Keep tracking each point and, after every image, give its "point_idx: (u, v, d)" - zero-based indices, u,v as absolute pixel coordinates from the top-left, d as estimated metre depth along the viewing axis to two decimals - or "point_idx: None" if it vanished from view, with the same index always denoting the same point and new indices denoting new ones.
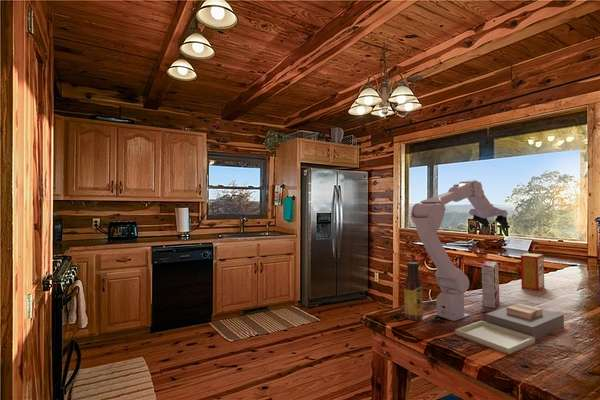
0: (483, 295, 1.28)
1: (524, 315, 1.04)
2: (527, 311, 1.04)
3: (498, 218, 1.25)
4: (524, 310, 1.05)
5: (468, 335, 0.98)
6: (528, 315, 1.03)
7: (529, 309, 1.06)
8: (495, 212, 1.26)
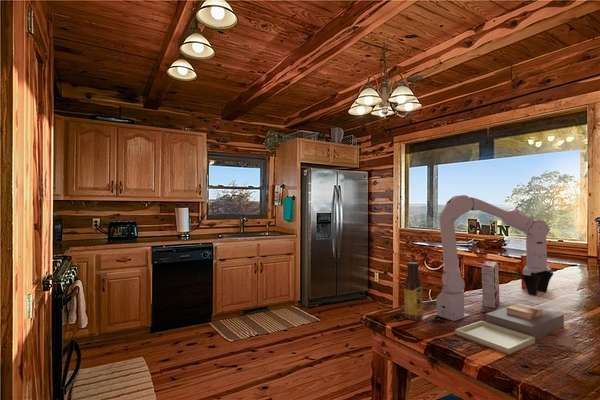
0: (483, 295, 1.28)
1: (524, 315, 1.04)
2: (527, 311, 1.04)
3: None
4: (524, 310, 1.05)
5: (468, 335, 0.98)
6: (528, 315, 1.03)
7: (529, 309, 1.06)
8: None
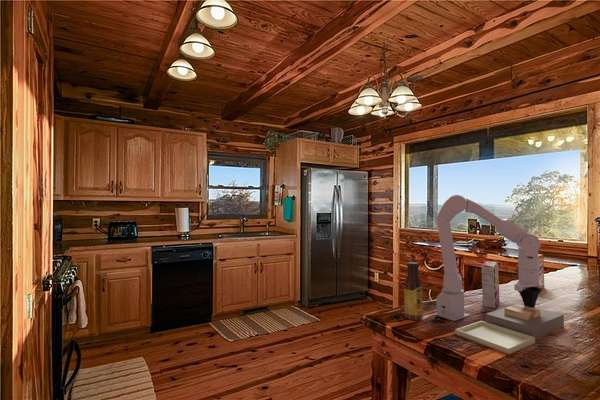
0: (483, 295, 1.28)
1: (522, 316, 1.03)
2: (525, 312, 1.04)
3: None
4: (522, 311, 1.04)
5: (468, 335, 0.98)
6: (526, 316, 1.02)
7: (526, 310, 1.05)
8: None
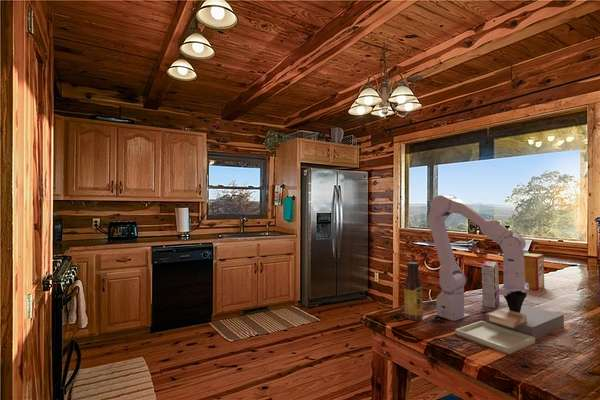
0: (483, 295, 1.28)
1: (507, 323, 0.98)
2: (510, 318, 0.99)
3: None
4: (507, 318, 0.99)
5: (468, 335, 0.98)
6: (511, 323, 0.97)
7: (512, 316, 1.00)
8: (507, 288, 1.03)
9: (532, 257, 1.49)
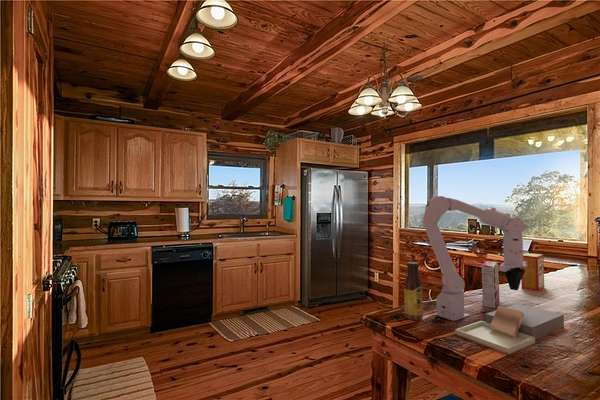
0: (483, 295, 1.28)
1: (509, 334, 0.98)
2: (510, 328, 0.98)
3: None
4: (507, 329, 0.99)
5: (468, 335, 0.98)
6: (512, 335, 0.97)
7: (510, 322, 0.99)
8: (507, 265, 1.12)
9: (532, 257, 1.49)
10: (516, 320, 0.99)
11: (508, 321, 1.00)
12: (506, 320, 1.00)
